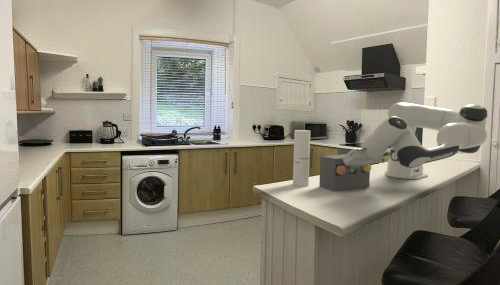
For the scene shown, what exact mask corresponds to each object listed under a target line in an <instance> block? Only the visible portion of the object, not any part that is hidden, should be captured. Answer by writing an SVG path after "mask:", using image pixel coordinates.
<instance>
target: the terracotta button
mask: <svg viewBox="0 0 500 285" xmlns="http://www.w3.org/2000/svg"><path fill="white" fill-rule="evenodd" d="M345 172H346V168H345V167H344V166H341V165H336V174H339V175H344V174H345Z"/></svg>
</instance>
